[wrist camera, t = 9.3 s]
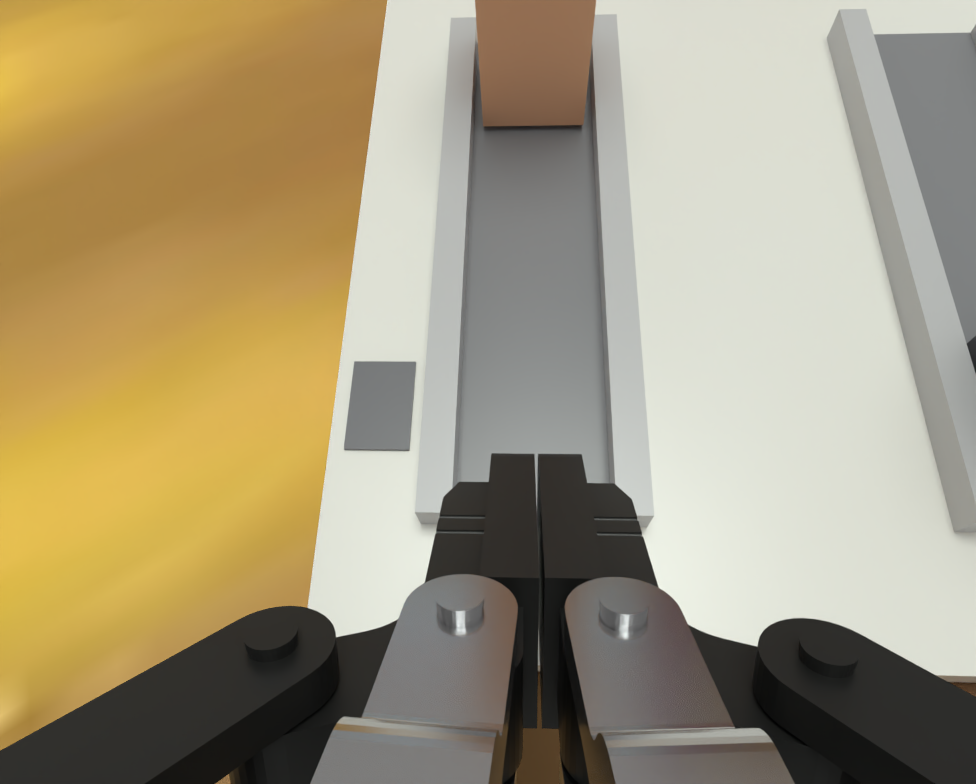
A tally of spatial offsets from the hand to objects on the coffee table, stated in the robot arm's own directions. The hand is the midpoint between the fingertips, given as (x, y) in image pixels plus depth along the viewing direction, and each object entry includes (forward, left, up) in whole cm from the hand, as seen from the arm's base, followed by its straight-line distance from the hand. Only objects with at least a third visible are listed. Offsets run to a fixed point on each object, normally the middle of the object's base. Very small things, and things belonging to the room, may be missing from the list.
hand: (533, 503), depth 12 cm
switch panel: (-5, +10, -6) cm, 13 cm away
